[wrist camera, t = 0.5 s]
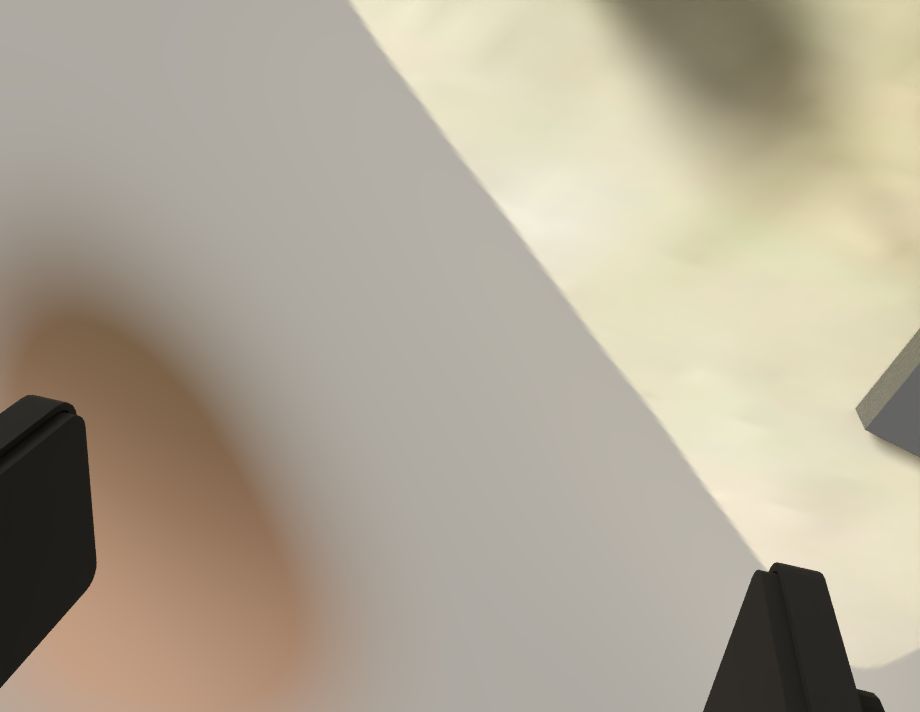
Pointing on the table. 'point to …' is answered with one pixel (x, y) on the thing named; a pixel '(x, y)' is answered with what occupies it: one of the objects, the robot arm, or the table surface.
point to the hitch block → (896, 401)
